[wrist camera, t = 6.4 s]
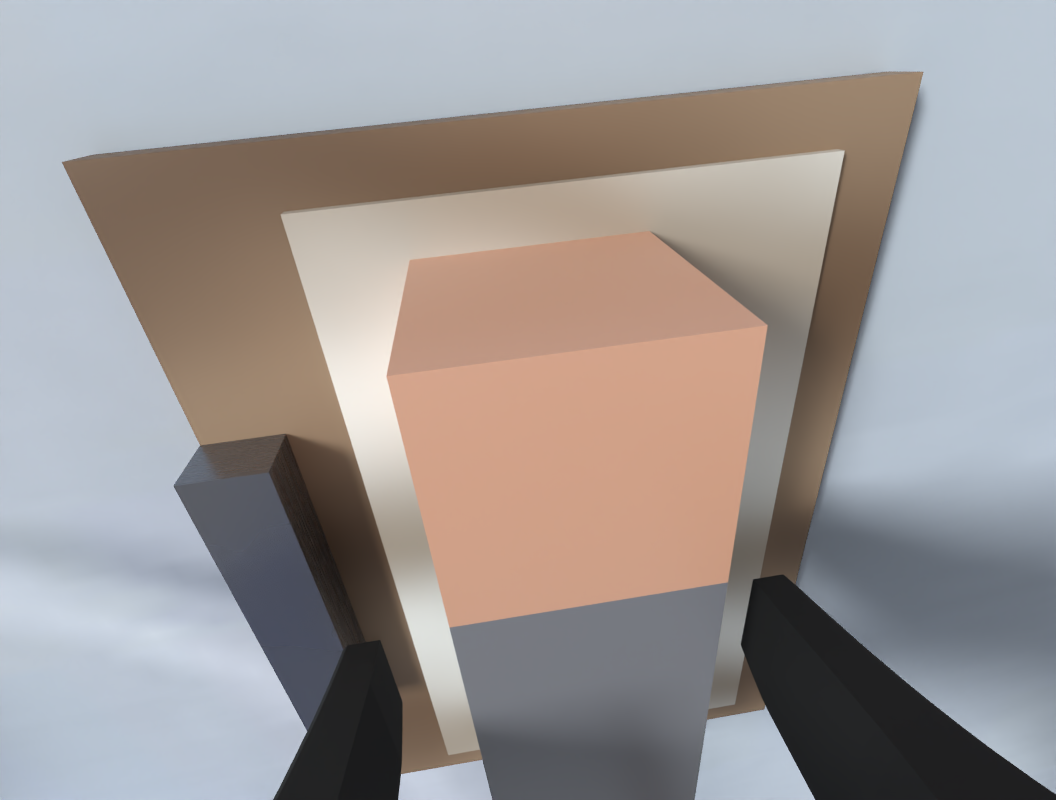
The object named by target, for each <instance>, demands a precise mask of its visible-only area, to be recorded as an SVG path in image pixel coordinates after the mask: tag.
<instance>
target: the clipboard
mask: <svg viewBox="0 0 1056 800" xmlns="http://www.w3.org/2000/svg"><path fill="white" fill-rule="evenodd" d="M922 75H923V72H881V73H871V74H862V75H852V76H842V77H833V78H823V79H814V80H804V81H795V82H785V83H775V84H766V85H756V86H747V87H737V88H728V89H718V90H708V91H699V92H689V93H680V94H670V95H661V96H651V97H641V98H632V99H622V100H613V101H603V102H594V103H584V104H575V105H565V106H555V107H546V108H536V109H527V110H517V111H508V112H498V113H488V114H479V115H469V116H460V117H450V118H441V119H431V120H421V121H412V122H402V123H393V124H383V125H374V126H364V127H354V128H345V129H335V130H326V131H316V132H307V133H297V134H287V135H278V136H268V137H259V138H249V139H240V140H230V141H221V142H211V143H201V144H192V145H182V146H173V147H163V148H154V149H144V150H134V151H125V152H115V153H106V154H96V155H90V156H86V157H82V158H77V159H73V160H69V161H65V162H62V163H63V165H64V168H65V170H66V172H67V174H68V176H69V178H70V180H71V182H72V184H73V186H74V188H75V190H76V192H77V194H78V196H79V198H80V200H81V202H82V204H83V206H84V208H85V211H86V213H87V215H88V217H89V219H90V221H91V223H92V225H93V227H94V229H95V231H96V233H97V235H98V237H99V239H100V241H101V243H102V245H103V247H104V249H105V251H106V253H107V256H108V258H109V260H110V262H111V264H112V266H113V268H114V270H115V272H116V274H117V276H118V278H119V280H120V282H121V284H122V286H123V288H124V290H125V292H126V294H127V296H128V298H129V301H130V303H131V305H132V307H133V309H134V311H135V313H136V315H137V317H138V319H139V321H140V323H141V325H142V327H143V329H144V331H145V333H146V335H147V337H148V339H149V341H150V343H151V346H152V348H153V350H154V352H155V354H156V356H157V358H158V360H159V362H160V364H161V366H162V368H163V370H164V372H165V374H166V376H167V378H168V380H169V382H170V384H171V386H172V389H173V391H174V393H175V395H176V397H177V399H178V401H179V403H180V405H181V407H182V409H183V411H184V413H185V415H186V417H187V419H188V421H189V423H190V425H191V427H192V429H193V431H194V434H195V436H196V438H197V440H198V442H199V444H200V447H199V448H198V450H197V451H196V453H195V454H194V456H193V457H192V459H191V460H190V462H189V463H188V465H187V466H186V468H185V469H184V471H183V472H182V474H181V475H180V477H179V478H178V480H177V481H176V483H175V484H174V488H175V490H176V492H177V493H178V495H179V497H180V499H181V501H182V503H183V504H184V506H185V508H186V510H187V512H188V514H189V515H190V517H191V519H192V521H193V523H194V524H195V526H196V528H197V530H198V532H199V534H200V535H201V537H202V539H203V541H204V543H205V545H206V546H207V548H208V550H209V552H210V554H211V556H212V557H213V559H214V561H215V563H216V565H217V567H218V568H219V570H220V572H221V574H222V576H223V578H224V579H225V581H226V583H227V585H228V587H229V589H230V590H231V592H232V594H233V596H234V598H235V600H236V601H237V603H238V605H239V607H240V609H241V611H242V612H243V614H244V616H245V618H246V620H247V622H248V623H249V625H250V627H251V629H252V631H253V633H254V634H255V636H256V638H257V640H258V642H259V643H260V645H261V647H262V649H263V651H264V653H265V654H266V656H267V658H268V660H269V662H270V664H271V665H272V667H273V669H274V671H275V673H276V675H277V676H278V678H279V680H280V682H281V684H282V686H283V687H284V689H285V691H286V693H287V695H288V697H289V698H290V700H291V702H292V704H293V706H294V708H295V709H296V711H297V713H298V715H299V717H300V719H301V720H302V722H303V724H304V726H305V728H306V730H307V731H308V729H309V727H310V725H311V723H312V720H313V718H314V716H315V714H316V712H317V710H318V707H319V705H320V703H321V701H322V698H323V696H324V694H325V692H326V689H327V687H328V685H329V682H330V680H331V678H332V675H333V673H334V671H335V668H336V666H337V663H338V661H339V658H340V656H341V653H342V651H343V649H344V648H345V647H346V646H347V645H352V644H358V643H364V642H370V641H377V640H380V641H381V643H382V646H383V649H384V652H385V654H386V657H387V660H388V663H389V666H390V668H391V671H392V674H393V677H394V679H395V682H396V685H397V688H398V691H399V693H400V696H401V699H402V702H403V732H402V767H401V774H404V773H410V772H416V771H421V770H427V769H432V768H438V767H444V766H449V765H455V764H460V763H466V762H472V761H477V760H482V756H481V752H480V748H479V744H478V740H477V736H476V732H475V728H474V724H473V720H472V716H471V712H470V708H469V704H468V700H467V696H466V692H465V688H464V684H463V680H462V676H461V672H460V668H459V664H458V660H457V656H456V652H455V648H454V644H453V640H452V636H451V632H450V628H449V624H448V620H447V616H446V612H445V608H444V604H443V600H442V596H441V592H440V588H439V584H438V580H437V576H436V572H435V568H434V564H433V560H432V556H431V552H430V548H429V544H428V540H427V536H426V532H425V528H424V524H423V520H422V516H421V512H420V508H419V504H418V500H417V496H416V492H415V488H414V485H413V481H412V477H411V473H410V469H409V465H408V461H407V457H406V453H405V449H404V445H403V441H402V437H401V433H400V429H399V425H398V421H397V417H396V413H395V409H394V405H393V401H392V397H391V393H390V389H389V385H388V381H387V377H386V375H387V370H388V365H389V361H390V356H391V351H392V346H393V341H394V336H395V331H396V326H397V321H398V316H399V311H400V306H401V301H402V296H403V291H404V286H405V281H406V276H407V271H408V266H409V261H410V260H413V259H421V258H430V257H438V256H446V255H455V254H463V253H471V252H479V251H488V250H496V249H504V248H513V247H521V246H529V245H537V244H546V243H554V242H562V241H571V240H579V239H587V238H596V237H604V236H612V235H620V234H629V233H637V232H645V231H650V232H651V233H652V234H654V235H655V236H656V237H657V238H659V239H660V240H661V241H663V242H664V243H665V244H666V245H668V246H669V247H670V248H671V249H673V250H674V251H675V252H676V253H678V254H679V255H680V256H681V257H683V258H684V259H685V260H686V261H688V262H689V263H690V264H691V265H693V266H694V267H695V268H696V269H698V270H699V271H700V272H701V273H703V274H704V275H705V276H706V277H708V278H709V279H710V280H711V281H713V282H714V283H715V284H716V285H718V286H719V287H720V288H721V289H723V290H724V291H725V292H726V293H728V294H729V295H730V296H732V297H733V298H734V299H735V300H737V301H738V302H739V303H740V304H742V305H743V306H744V307H745V308H747V309H748V310H749V311H750V312H752V313H753V314H754V315H755V316H757V317H758V318H759V319H760V320H762V321H763V322H764V323H765V324H767V325H768V327H767V333H766V340H765V346H764V353H763V359H762V365H761V372H760V378H759V385H758V391H757V398H756V404H755V411H754V417H753V424H752V430H751V437H750V443H749V450H748V456H747V463H746V469H745V475H744V482H743V488H742V495H741V501H740V508H739V514H738V521H737V527H736V534H735V540H734V547H733V553H732V560H731V566H730V573H729V579H728V585H727V592H726V598H725V605H724V611H723V618H722V624H721V631H720V637H719V644H718V650H717V657H716V663H715V670H714V676H713V683H712V689H711V695H710V702H709V708H708V715H707V719H713V718H718V717H724V716H730V715H735V714H741V713H746V712H752V711H758V710H763V709H764V708H765V703H764V701H763V699H762V697H761V695H760V692H759V690H758V687H757V685H756V683H755V680H754V678H753V675H752V673H751V670H750V668H749V665H748V663H747V660H746V657H745V655H744V652H743V650H742V647H741V640H742V635H743V629H744V624H745V619H746V613H747V608H748V603H749V598H750V592H751V587H752V582H753V579H757V578H764V577H770V576H776V575H782V574H783V575H785V576H786V577H787V578H788V579H789V580H791V581H792V582H793V583H794V584H795V583H796V579H797V575H798V571H799V567H800V563H801V559H802V555H803V551H804V547H805V543H806V539H807V535H808V531H809V527H810V523H811V519H812V515H813V511H814V507H815V503H816V499H817V495H818V491H819V487H820V483H821V479H822V475H823V471H824V467H825V463H826V459H827V455H828V451H829V447H830V443H831V439H832V435H833V431H834V427H835V423H836V419H837V415H838V411H839V407H840V403H841V399H842V395H843V391H844V387H845V383H846V379H847V375H848V371H849V367H850V363H851V359H852V355H853V351H854V347H855V343H856V339H857V335H858V331H859V327H860V323H861V319H862V315H863V311H864V307H865V303H866V299H867V295H868V291H869V287H870V283H871V279H872V275H873V271H874V267H875V263H876V259H877V255H878V251H879V247H880V243H881V239H882V235H883V231H884V227H885V223H886V219H887V215H888V211H889V207H890V203H891V199H892V195H893V191H894V187H895V183H896V179H897V175H898V171H899V167H900V163H901V159H902V155H903V151H904V147H905V143H906V139H907V135H908V131H909V127H910V123H911V119H912V115H913V111H914V107H915V103H916V99H917V95H918V91H919V87H920V83H921V79H922Z"/></svg>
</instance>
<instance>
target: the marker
mask: <svg viewBox="0 0 1056 800" xmlns="http://www.w3.org/2000/svg"><path fill="white" fill-rule="evenodd" d="M767 327H768V325H767V324H765V323H764V322H763V321H762V320H760V319H759V318H758V317H757V316H755V315H754V314H753V313H752V312H750V311H749V310H748V309H747V308H745V307H744V306H743V305H742V304H740V303H739V302H738V301H737V300H735V299H734V298H733V297H732V296H730V295H729V294H728V293H726V292H725V291H724V290H723V289H721V288H720V287H719V286H718V285H716V284H715V283H714V282H713V281H711V280H710V279H709V278H708V277H706V276H705V275H704V274H703V273H701V272H700V271H699V270H698V269H696V268H695V267H694V266H693V265H691V264H690V263H689V262H688V261H686V260H685V259H684V258H683V257H681V256H680V255H679V254H678V253H676V252H675V251H674V250H673V249H671V248H670V247H669V246H668V245H666V244H665V243H664V242H663V241H661V240H660V239H659V238H657V237H656V236H655V235H654V234H652V233H651V232H650V231H645V232H637V233H629V234H620V235H612V236H604V237H596V238H587V239H579V240H571V241H562V242H554V243H546V244H537V245H529V246H521V247H513V248H504V249H496V250H488V251H479V252H471V253H463V254H455V255H446V256H438V257H430V258H421V259H413V260H410V261H409V266H408V271H407V276H406V281H405V286H404V291H403V296H402V301H401V306H400V311H399V316H398V321H397V326H396V331H395V336H394V341H393V346H392V351H391V356H390V361H389V365H388V370H387V375H386V377H387V381H388V385H389V389H390V393H391V397H392V401H393V405H394V409H395V413H396V417H397V421H398V425H399V429H400V433H401V437H402V441H403V445H404V449H405V453H406V457H407V461H408V465H409V469H410V473H411V477H412V481H413V485H414V488H415V492H416V496H417V500H418V504H419V508H420V512H421V516H422V520H423V524H424V528H425V532H426V536H427V540H428V544H429V548H430V552H431V556H432V560H433V564H434V568H435V572H436V576H437V580H438V584H439V588H440V592H441V596H442V600H443V604H444V608H445V612H446V616H447V620H448V624H449V628H450V632H451V636H452V640H453V644H454V648H455V652H456V656H457V660H458V664H459V668H460V672H461V676H462V680H463V684H464V688H465V692H466V696H467V700H468V704H469V708H470V712H471V716H472V720H473V724H474V728H475V732H476V736H477V740H478V744H479V748H480V752H481V756H482V760H483V764H484V768H485V772H486V776H487V780H488V784H489V788H490V792H491V796H492V800H694V799H695V793H696V786H697V780H698V773H699V767H700V760H701V754H702V747H703V741H704V734H705V728H706V721H707V715H708V708H709V702H710V695H711V689H712V683H713V676H714V670H715V663H716V657H717V650H718V644H719V637H720V631H721V624H722V618H723V611H724V605H725V598H726V592H727V585H728V579H729V573H730V566H731V560H732V553H733V547H734V540H735V534H736V527H737V521H738V514H739V508H740V501H741V495H742V488H743V482H744V475H745V469H746V463H747V456H748V450H749V443H750V437H751V430H752V424H753V417H754V411H755V404H756V398H757V391H758V385H759V378H760V372H761V365H762V359H763V353H764V346H765V340H766V333H767Z"/></svg>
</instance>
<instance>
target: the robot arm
mask: <svg viewBox="0 0 1056 800" xmlns="http://www.w3.org/2000/svg"><path fill="white" fill-rule="evenodd" d="M741 647H742V650H743V652H744V655H745V657H746V660H747V663H748V665H749V668H750V670H751V673H752V675H753V678H754V680H755V683H756V685H757V687H758V690H759V692H760V695H761V697H762V699H763V701H764V703H765V705H766V707H767V709H768V711H769V713H770V715H771V717H772V719H773V721H774V723H775V725H776V726H777V728H778V730H779V732H780V734H781V736H782V738H783V740H784V742H785V744H786V745H787V747H788V749H789V751H790V753H791V755H792V757H793V759H794V761H795V762H796V764H797V766H798V768H799V770H800V772H801V774H802V776H803V777H804V779H805V781H806V783H807V785H808V787H809V789H810V791H811V792H812V794H813V796H814V798H815V800H1056V794H1054V793H1053V792H1051V791H1050V790H1048V789H1047V788H1046V787H1044V786H1043V785H1041V784H1040V783H1038V782H1037V781H1035V780H1034V779H1032V778H1031V777H1030V776H1028V775H1027V774H1025V773H1024V772H1023V771H1021V770H1020V769H1018V768H1017V767H1016V766H1014V765H1013V764H1011V763H1010V762H1009V761H1007V760H1006V759H1004V758H1003V757H1002V756H1000V755H999V754H998V753H996V752H995V751H993V750H992V749H991V748H989V747H988V746H987V745H985V744H984V743H983V742H981V741H980V740H979V739H977V738H976V737H975V736H973V735H972V734H971V733H969V732H968V731H967V730H965V729H964V728H963V727H962V726H960V725H959V724H958V723H956V722H955V721H954V720H953V719H951V718H950V717H949V716H947V715H946V714H945V713H944V712H942V711H941V710H940V709H939V708H937V707H936V706H935V705H934V704H932V703H931V702H930V701H928V700H927V699H926V698H925V697H924V696H922V695H921V694H920V693H919V692H917V691H916V690H915V689H914V688H912V687H911V686H910V685H909V684H908V683H906V682H905V681H904V680H903V679H902V678H900V677H899V676H898V675H897V674H896V673H895V672H893V671H892V670H891V669H890V668H889V667H887V666H886V665H885V664H884V663H883V662H882V661H880V660H879V659H878V658H877V657H876V656H874V655H873V654H872V653H871V652H870V651H869V650H867V649H866V648H865V647H864V646H863V645H862V644H861V643H859V642H858V641H857V640H856V639H855V638H854V637H853V636H851V635H850V634H849V633H848V632H847V631H846V630H845V629H844V628H842V627H841V626H840V625H839V624H838V623H837V622H836V621H835V620H834V619H832V618H831V617H830V616H829V615H828V614H827V613H826V612H825V611H824V610H822V609H821V608H820V607H819V606H818V605H817V604H816V603H815V602H814V601H813V600H811V599H810V598H809V597H808V596H807V595H806V594H805V593H804V592H803V591H802V590H801V589H799V588H798V587H797V586H796V585H795V584H794V583H793V582H792V581H791V580H789V579H788V578H787V577H786V576H785V575H783V574H782V575H776V576H770V577H764V578H757V579H753V582H752V587H751V592H750V598H749V603H748V608H747V613H746V619H745V624H744V629H743V635H742V640H741ZM402 732H403V702H402V699H401V696H400V693H399V691H398V688H397V685H396V682H395V679H394V677H393V674H392V671H391V668H390V666H389V663H388V660H387V657H386V654H385V652H384V649H383V646H382V643H381V641H380V640H377V641H370V642H364V643H358V644H352V645H347V646H346V647H345V648H344V649H343V651H342V653H341V656H340V658H339V661H338V663H337V666H336V668H335V671H334V673H333V675H332V678H331V680H330V682H329V685H328V687H327V689H326V692H325V694H324V696H323V698H322V701H321V703H320V705H319V707H318V710H317V712H316V714H315V716H314V718H313V720H312V723H311V725H310V727H309V729H308V731H307V733H306V735H305V737H304V739H303V741H302V743H301V745H300V748H299V750H298V752H297V754H296V756H295V758H294V760H293V762H292V764H291V766H290V768H289V770H288V772H287V774H286V776H285V778H284V780H283V782H282V784H281V786H280V788H279V790H278V792H277V794H276V795H275V797H274V799H273V800H398V795H399V786H400V776H401V767H402Z"/></svg>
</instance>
